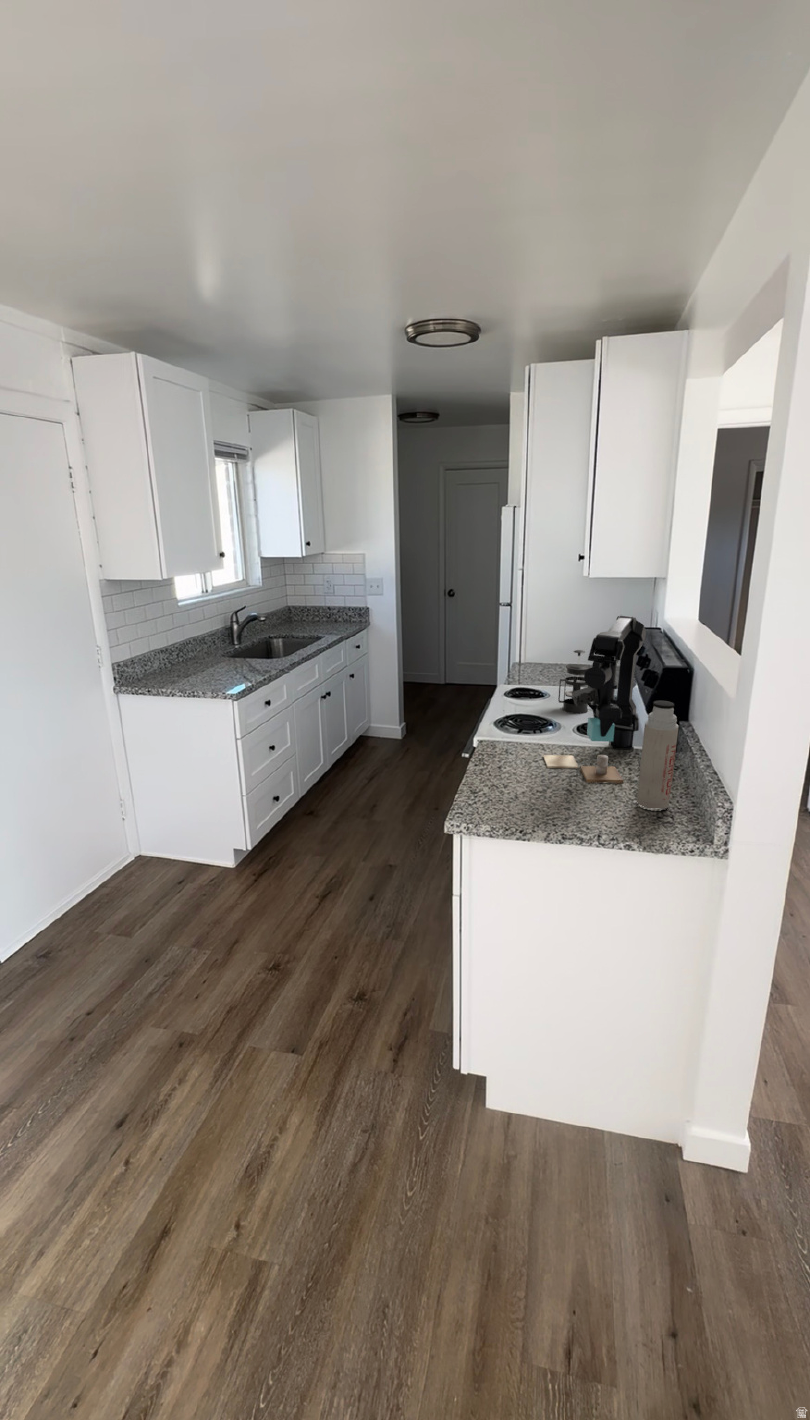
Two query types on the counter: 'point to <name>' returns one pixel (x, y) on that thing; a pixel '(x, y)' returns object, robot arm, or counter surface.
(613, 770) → the post stand
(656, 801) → the thermos bottle
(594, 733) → the teal cube
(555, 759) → the board
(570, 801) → the counter surface
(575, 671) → the french press
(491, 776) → the counter surface
